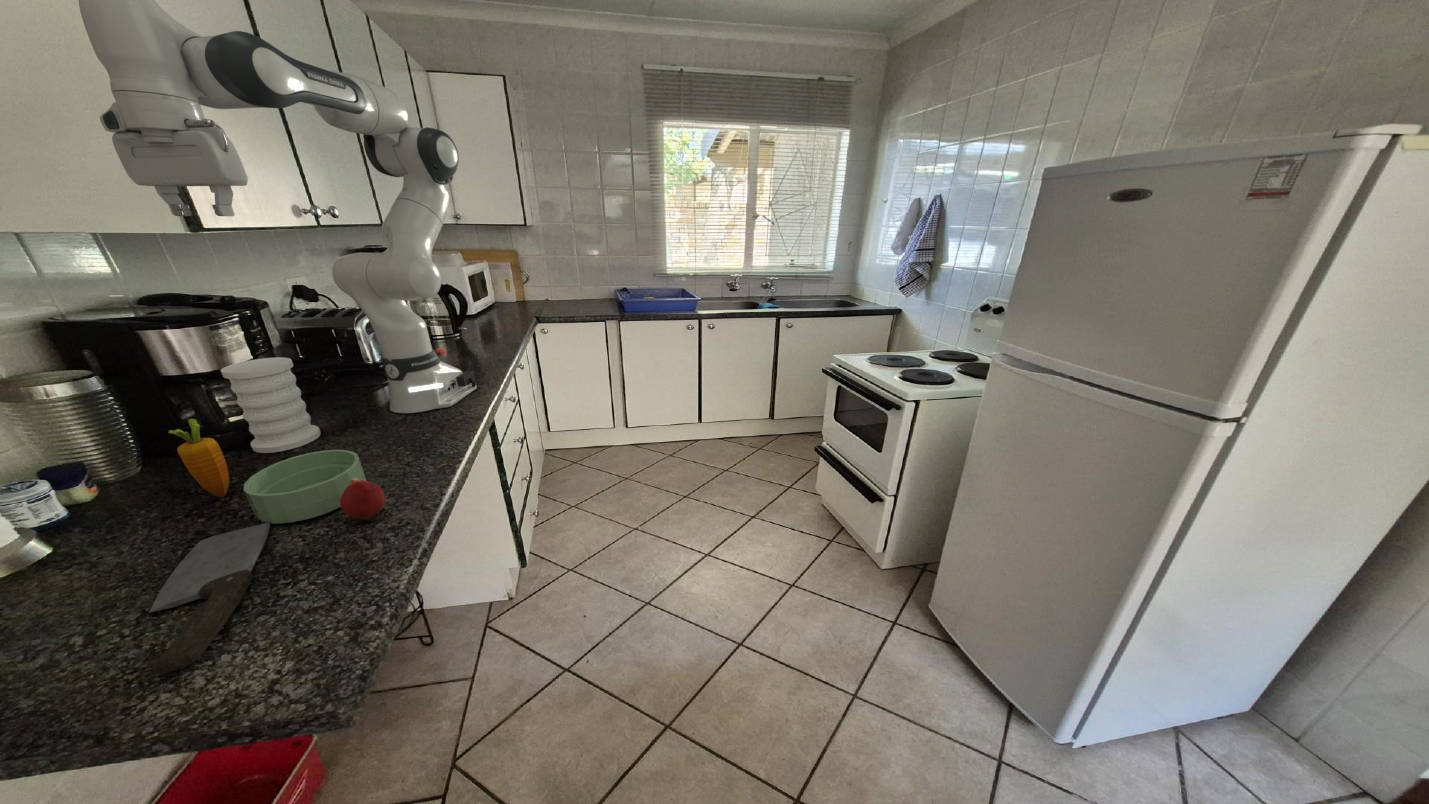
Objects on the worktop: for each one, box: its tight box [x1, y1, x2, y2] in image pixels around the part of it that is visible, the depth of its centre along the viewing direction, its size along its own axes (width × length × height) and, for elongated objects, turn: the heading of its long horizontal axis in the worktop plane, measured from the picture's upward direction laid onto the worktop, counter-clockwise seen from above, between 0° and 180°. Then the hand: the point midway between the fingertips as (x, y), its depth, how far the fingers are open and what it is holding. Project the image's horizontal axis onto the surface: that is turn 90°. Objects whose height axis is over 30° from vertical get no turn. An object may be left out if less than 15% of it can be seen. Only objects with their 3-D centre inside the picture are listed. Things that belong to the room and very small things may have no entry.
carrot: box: [167, 418, 230, 499], centre depth 78 cm, size 5×5×15 cm
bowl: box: [242, 449, 367, 525], centre depth 79 cm, size 15×15×6 cm
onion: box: [340, 478, 387, 521], centre depth 74 cm, size 6×6×8 cm
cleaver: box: [148, 522, 271, 676], centre depth 60 cm, size 30×10×2 cm, turn 34°
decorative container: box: [220, 356, 321, 454], centre depth 97 cm, size 12×12×18 cm
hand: (204, 216), depth 75 cm, fingers open, 8 cm apart
